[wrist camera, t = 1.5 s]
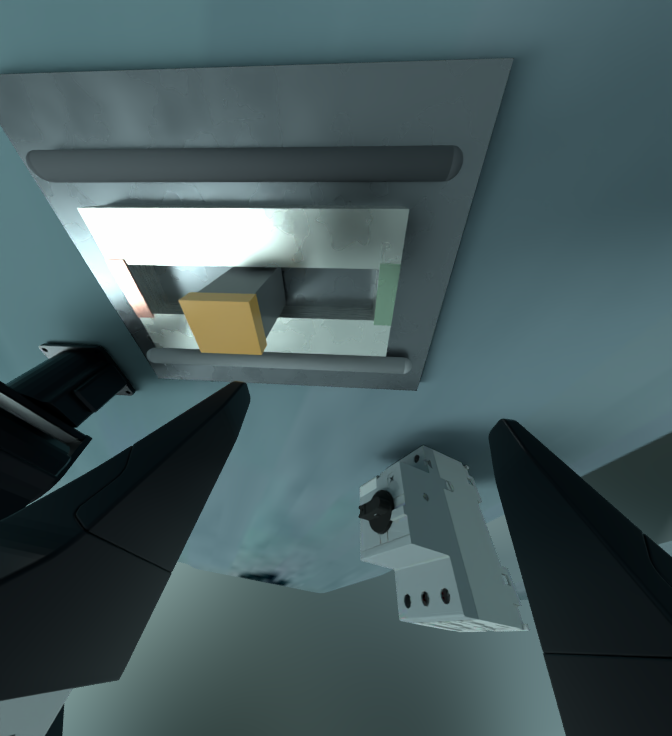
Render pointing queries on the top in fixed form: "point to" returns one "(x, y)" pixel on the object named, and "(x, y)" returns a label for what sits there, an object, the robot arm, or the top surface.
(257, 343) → the breaker lever
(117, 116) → the breaker panel
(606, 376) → the top surface
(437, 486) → the circuit breaker
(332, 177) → the gray flat tray
